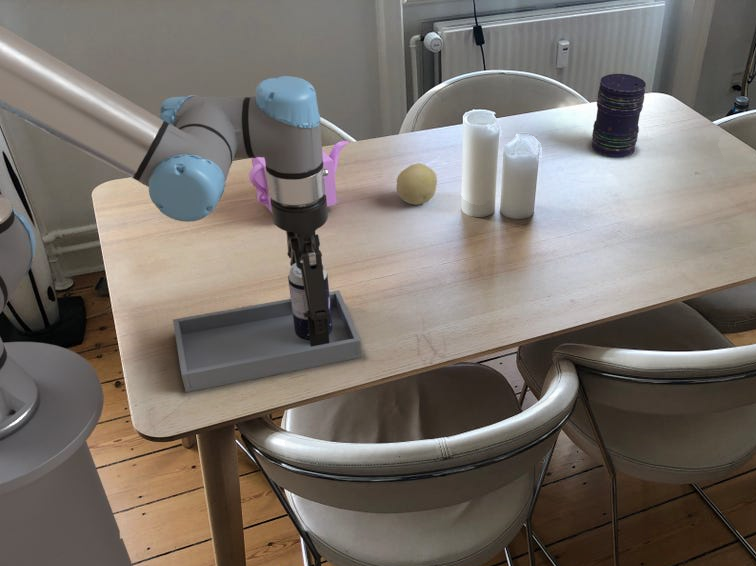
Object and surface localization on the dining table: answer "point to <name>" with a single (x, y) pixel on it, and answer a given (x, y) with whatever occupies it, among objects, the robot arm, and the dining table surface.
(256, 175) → the teapot
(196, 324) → the tray
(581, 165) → the dining table surface
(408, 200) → the potato
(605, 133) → the dark blue cylinder
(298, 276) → the beverage can
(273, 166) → the robot arm
